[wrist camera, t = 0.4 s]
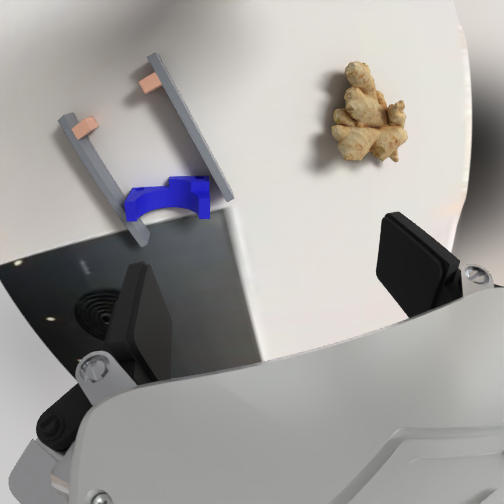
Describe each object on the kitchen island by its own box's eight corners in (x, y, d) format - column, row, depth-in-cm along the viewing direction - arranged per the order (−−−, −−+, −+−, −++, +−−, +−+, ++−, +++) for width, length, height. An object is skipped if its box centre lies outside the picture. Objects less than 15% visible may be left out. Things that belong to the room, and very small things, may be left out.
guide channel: (67, 117, 33) (57, 120, 30) (158, 55, 32) (155, 52, 29) (144, 236, 46) (141, 247, 44) (231, 190, 45) (234, 198, 42)
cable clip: (208, 175, 43) (210, 188, 38) (208, 202, 46) (209, 218, 41) (132, 178, 41) (123, 192, 36) (134, 205, 43) (126, 221, 38)
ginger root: (381, 183, 47) (400, 193, 39) (303, 138, 44) (311, 140, 37) (418, 111, 41) (441, 111, 33) (343, 61, 38) (357, 51, 31)
